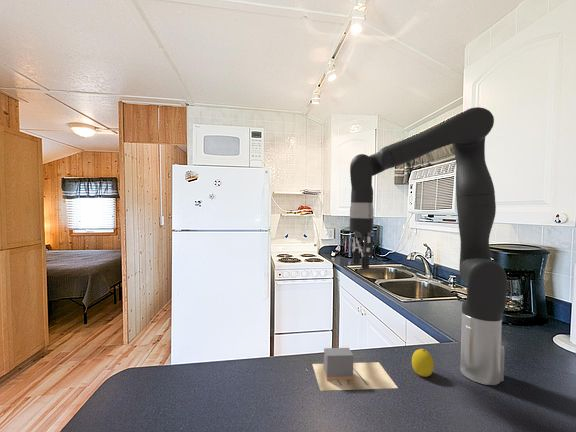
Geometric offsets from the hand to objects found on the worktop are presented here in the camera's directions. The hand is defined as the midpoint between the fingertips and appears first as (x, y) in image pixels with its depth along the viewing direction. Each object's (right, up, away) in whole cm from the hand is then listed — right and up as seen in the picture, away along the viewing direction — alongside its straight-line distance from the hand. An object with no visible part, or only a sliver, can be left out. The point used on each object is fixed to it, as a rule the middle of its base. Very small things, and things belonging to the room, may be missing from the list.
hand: (360, 266), depth 90 cm
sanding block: (-10, -27, -16) cm, 33 cm away
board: (-6, -28, -15) cm, 33 cm away
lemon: (+14, -29, -14) cm, 35 cm away
